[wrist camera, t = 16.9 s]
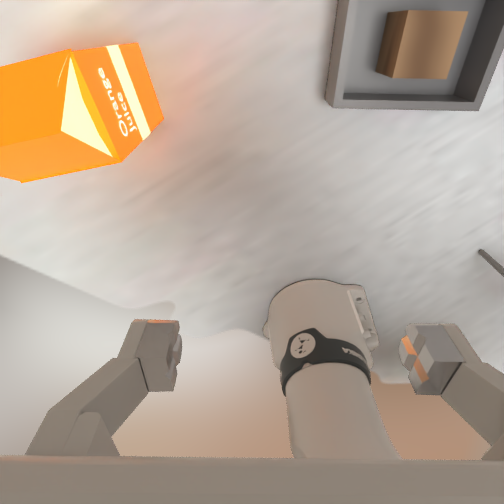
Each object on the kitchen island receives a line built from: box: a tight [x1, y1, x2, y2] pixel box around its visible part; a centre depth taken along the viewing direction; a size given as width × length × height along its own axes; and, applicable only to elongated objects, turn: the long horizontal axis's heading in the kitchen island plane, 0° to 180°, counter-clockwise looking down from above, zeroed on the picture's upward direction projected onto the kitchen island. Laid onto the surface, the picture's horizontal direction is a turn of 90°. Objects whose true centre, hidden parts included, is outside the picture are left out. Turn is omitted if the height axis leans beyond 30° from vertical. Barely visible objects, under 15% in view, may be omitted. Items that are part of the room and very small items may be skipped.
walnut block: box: [375, 10, 468, 79], centre depth 30 cm, size 5×5×5 cm
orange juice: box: [0, 43, 164, 183], centre depth 27 cm, size 8×9×20 cm
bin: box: [325, 0, 504, 111], centre depth 31 cm, size 15×11×4 cm
